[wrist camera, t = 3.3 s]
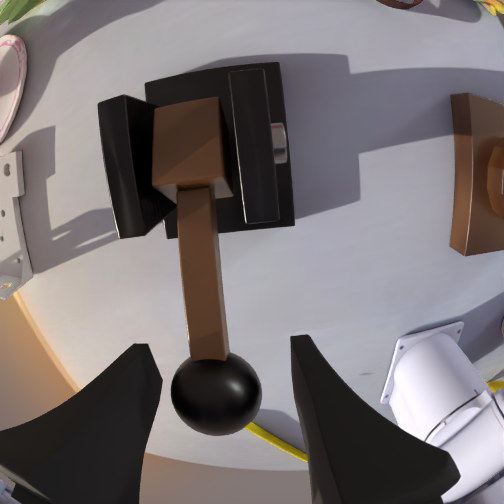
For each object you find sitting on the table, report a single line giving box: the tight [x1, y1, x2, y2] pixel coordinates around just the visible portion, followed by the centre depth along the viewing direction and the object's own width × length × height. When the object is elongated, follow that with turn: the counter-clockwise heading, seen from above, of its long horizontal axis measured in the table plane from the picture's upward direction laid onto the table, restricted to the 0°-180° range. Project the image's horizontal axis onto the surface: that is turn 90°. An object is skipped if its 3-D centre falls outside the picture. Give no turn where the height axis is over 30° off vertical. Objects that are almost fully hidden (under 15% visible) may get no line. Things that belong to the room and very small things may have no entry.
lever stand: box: [98, 62, 295, 239], centre depth 12 cm, size 10×8×10 cm
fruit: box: [487, 381, 504, 393], centre depth 23 cm, size 6×6×8 cm
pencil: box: [245, 422, 308, 463], centre depth 27 cm, size 16×1×1 cm
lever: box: [152, 97, 262, 436], centre depth 9 cm, size 11×3×3 cm, turn 6°
